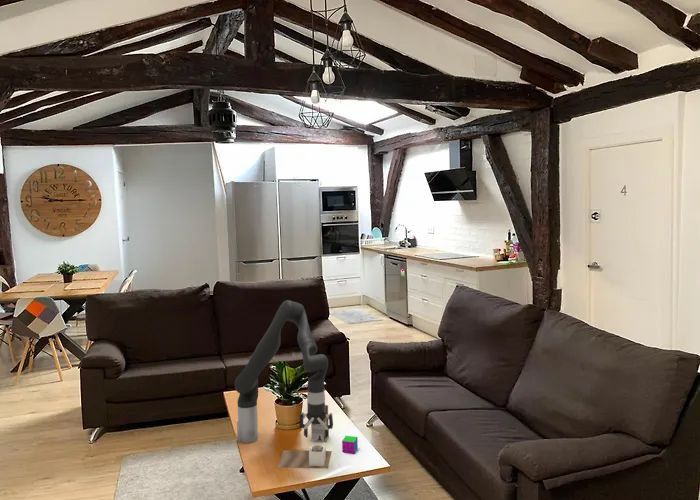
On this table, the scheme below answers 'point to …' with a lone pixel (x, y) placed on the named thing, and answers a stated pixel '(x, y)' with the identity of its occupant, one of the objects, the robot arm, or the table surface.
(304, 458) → the post board
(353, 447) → the puzzle toy
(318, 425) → the coffee box
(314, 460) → the hollow square box
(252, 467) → the table surface
